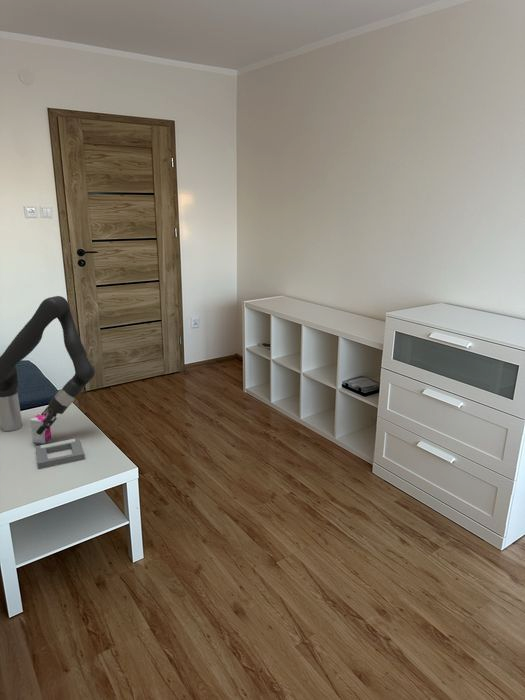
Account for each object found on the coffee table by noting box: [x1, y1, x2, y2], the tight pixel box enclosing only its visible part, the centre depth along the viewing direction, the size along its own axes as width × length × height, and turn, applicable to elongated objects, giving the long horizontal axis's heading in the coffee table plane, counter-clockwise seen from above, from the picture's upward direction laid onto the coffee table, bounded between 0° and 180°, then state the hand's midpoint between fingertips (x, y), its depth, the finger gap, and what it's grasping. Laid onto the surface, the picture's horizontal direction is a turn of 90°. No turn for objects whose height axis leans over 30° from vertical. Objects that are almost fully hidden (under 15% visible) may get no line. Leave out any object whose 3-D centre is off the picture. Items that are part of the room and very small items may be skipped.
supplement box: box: [29, 414, 52, 445], centre depth 220 cm, size 6×6×12 cm
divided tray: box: [35, 437, 86, 470], centre depth 211 cm, size 16×18×3 cm
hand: (37, 429), depth 219 cm, fingers closed on supplement box, 8 cm apart
